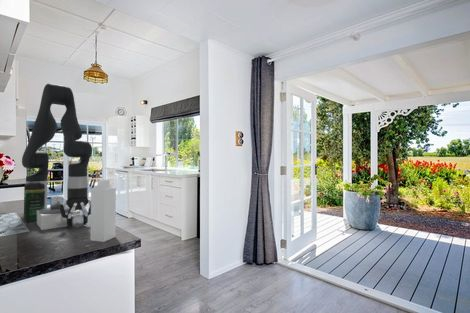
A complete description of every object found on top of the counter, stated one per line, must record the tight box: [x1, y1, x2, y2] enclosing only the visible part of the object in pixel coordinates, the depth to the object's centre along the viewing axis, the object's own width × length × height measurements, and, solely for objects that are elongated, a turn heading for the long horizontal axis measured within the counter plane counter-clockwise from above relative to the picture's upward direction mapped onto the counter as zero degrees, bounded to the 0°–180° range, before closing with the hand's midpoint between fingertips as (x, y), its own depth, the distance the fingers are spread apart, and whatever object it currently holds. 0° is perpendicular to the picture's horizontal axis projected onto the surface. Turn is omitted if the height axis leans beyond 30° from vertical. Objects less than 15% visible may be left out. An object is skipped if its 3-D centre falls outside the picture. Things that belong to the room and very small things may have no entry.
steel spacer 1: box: [49, 195, 64, 209], centre depth 120 cm, size 5×5×5 cm
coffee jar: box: [23, 181, 45, 223], centre depth 124 cm, size 10×8×19 cm
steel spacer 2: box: [70, 213, 85, 230], centre depth 113 cm, size 5×5×5 cm
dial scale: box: [36, 205, 81, 231], centre depth 118 cm, size 14×14×7 cm
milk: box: [90, 179, 117, 243], centre depth 97 cm, size 6×6×22 cm
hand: (77, 225), depth 113 cm, fingers closed on steel spacer 2, 5 cm apart
